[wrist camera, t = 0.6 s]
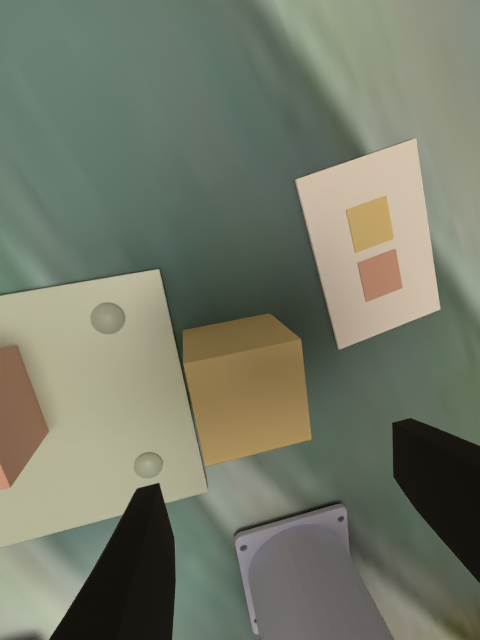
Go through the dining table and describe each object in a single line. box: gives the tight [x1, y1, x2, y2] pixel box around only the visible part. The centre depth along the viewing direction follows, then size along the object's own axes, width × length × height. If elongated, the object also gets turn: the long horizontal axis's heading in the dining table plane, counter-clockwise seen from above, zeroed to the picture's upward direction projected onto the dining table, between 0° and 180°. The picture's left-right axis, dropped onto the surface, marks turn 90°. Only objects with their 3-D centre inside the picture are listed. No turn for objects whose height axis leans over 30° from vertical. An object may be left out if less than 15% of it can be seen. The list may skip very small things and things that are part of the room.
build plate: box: [0, 269, 208, 547], centre depth 17 cm, size 14×16×1 cm
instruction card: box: [294, 138, 440, 350], centre depth 18 cm, size 10×7×1 cm
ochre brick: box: [183, 313, 312, 466], centre depth 16 cm, size 5×5×5 cm
